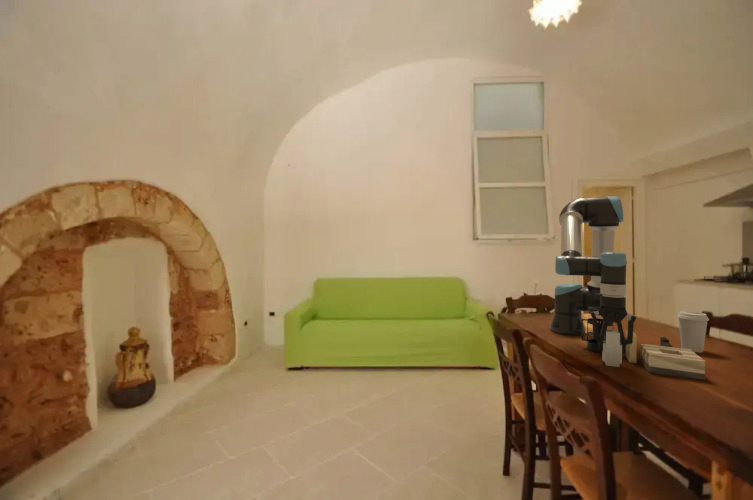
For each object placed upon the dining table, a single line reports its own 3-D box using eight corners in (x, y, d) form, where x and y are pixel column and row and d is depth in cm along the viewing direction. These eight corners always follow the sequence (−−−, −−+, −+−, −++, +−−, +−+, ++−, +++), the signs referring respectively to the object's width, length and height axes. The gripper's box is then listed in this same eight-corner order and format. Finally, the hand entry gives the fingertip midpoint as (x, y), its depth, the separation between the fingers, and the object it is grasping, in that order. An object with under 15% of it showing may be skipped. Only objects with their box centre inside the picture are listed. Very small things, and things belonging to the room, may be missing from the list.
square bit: (604, 361, 125) (604, 329, 125) (617, 363, 123) (618, 330, 123) (605, 365, 121) (606, 331, 121) (619, 367, 119) (619, 332, 119)
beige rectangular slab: (625, 356, 132) (626, 330, 132) (632, 356, 131) (632, 330, 131) (629, 362, 125) (629, 334, 124) (636, 363, 124) (636, 335, 124)
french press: (616, 349, 140) (617, 293, 139) (615, 355, 132) (616, 295, 132) (582, 344, 147) (583, 290, 146) (580, 349, 139) (580, 293, 139)
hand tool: (680, 361, 127) (680, 348, 127) (666, 359, 129) (666, 346, 129) (670, 348, 143) (671, 337, 143) (658, 346, 145) (658, 335, 145)
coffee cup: (715, 353, 134) (716, 315, 134) (690, 353, 135) (691, 315, 134) (693, 346, 144) (694, 310, 144) (670, 346, 144) (670, 310, 144)
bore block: (640, 359, 127) (640, 343, 127) (690, 366, 121) (690, 349, 120) (649, 372, 115) (649, 354, 115) (704, 380, 108) (705, 361, 108)
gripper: (585, 295, 122) (584, 360, 123) (645, 299, 114) (644, 368, 115) (584, 292, 129) (583, 354, 129) (640, 296, 121) (639, 362, 121)
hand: (611, 361), depth 122 cm, fingers closed on square bit, 4 cm apart
